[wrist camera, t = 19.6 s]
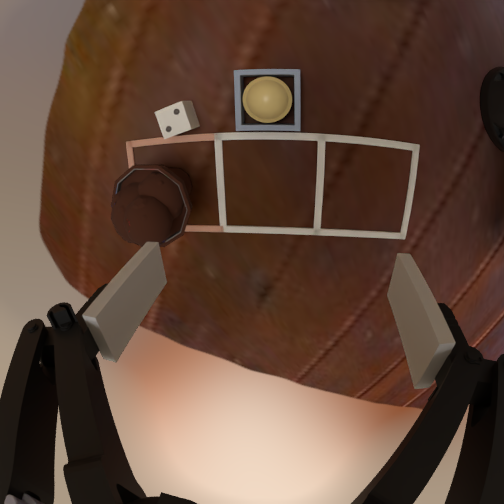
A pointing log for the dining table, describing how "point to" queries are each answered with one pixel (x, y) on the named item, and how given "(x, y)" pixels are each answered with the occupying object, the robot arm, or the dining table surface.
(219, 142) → the track
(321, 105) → the dining table surface
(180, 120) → the die
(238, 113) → the base
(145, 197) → the ice cream bowl
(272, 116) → the dome
